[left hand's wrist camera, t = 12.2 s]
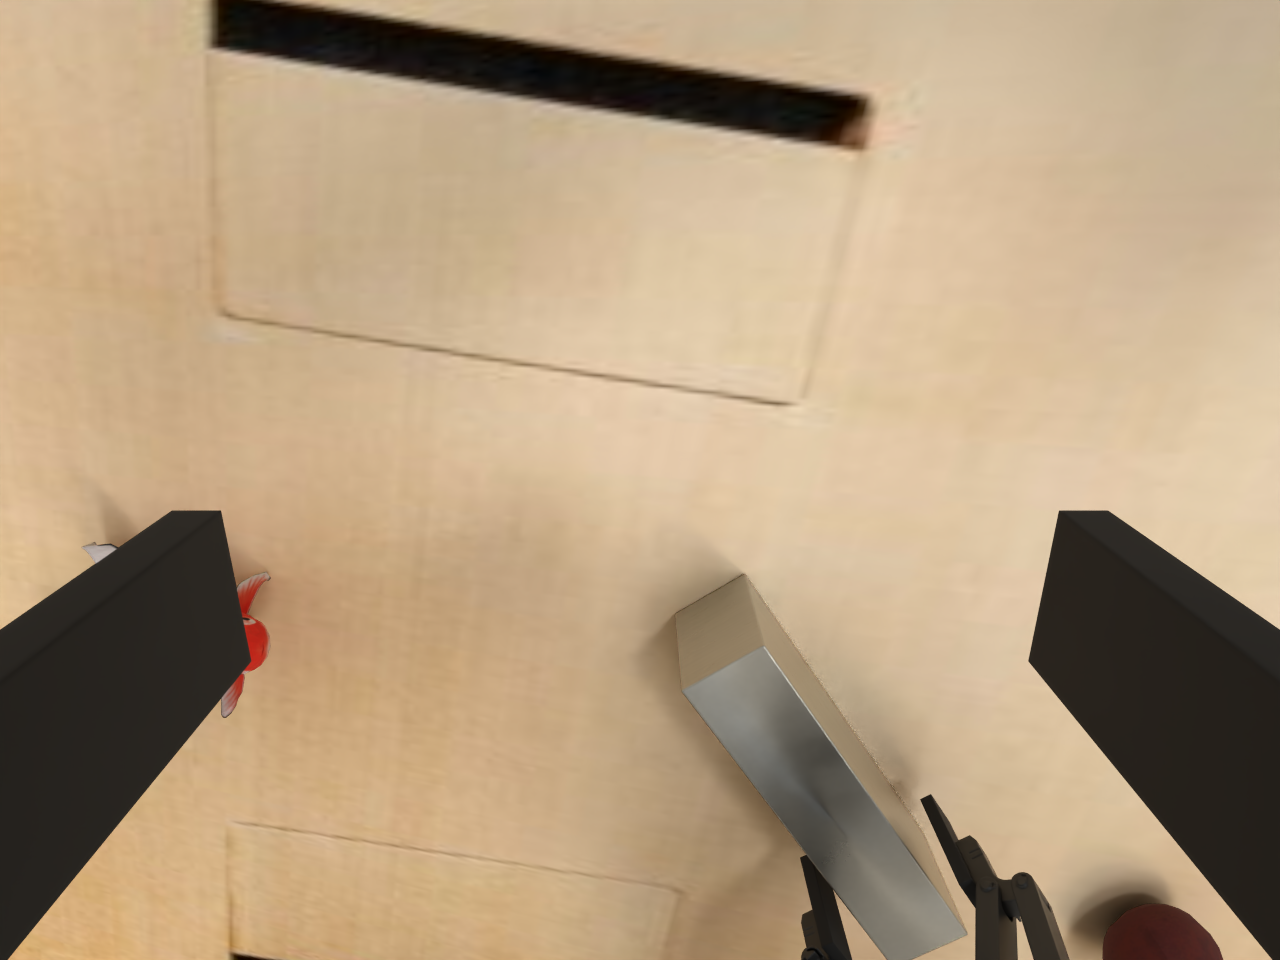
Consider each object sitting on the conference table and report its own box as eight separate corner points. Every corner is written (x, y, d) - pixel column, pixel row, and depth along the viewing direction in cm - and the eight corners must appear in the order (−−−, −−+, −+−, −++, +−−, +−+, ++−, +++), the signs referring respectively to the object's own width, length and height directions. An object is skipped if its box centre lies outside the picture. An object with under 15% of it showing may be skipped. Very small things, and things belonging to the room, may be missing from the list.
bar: (674, 613, 49) (680, 691, 41) (744, 573, 48) (764, 645, 40) (859, 863, 56) (893, 968, 48) (923, 832, 55) (968, 935, 47)
